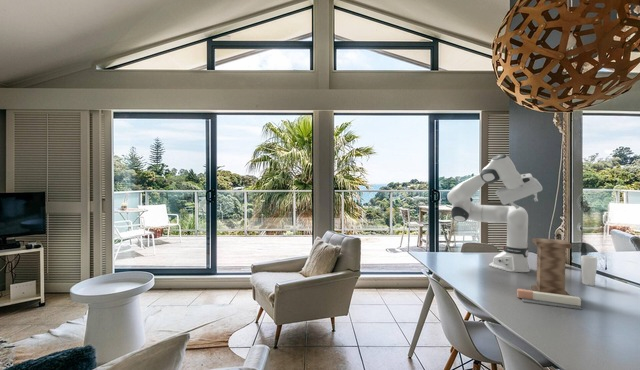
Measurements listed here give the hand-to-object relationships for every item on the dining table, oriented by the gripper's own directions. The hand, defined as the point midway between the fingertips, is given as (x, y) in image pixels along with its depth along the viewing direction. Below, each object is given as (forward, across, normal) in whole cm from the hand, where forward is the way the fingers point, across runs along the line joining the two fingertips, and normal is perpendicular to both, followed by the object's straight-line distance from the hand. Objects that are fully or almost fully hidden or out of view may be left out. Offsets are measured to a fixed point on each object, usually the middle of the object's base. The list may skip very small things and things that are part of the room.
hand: (527, 204), depth 175 cm
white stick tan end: (+34, -10, -33) cm, 48 cm away
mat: (+35, -9, -33) cm, 49 cm away
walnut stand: (+39, -9, -20) cm, 45 cm away
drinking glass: (+55, +5, +6) cm, 55 cm away
